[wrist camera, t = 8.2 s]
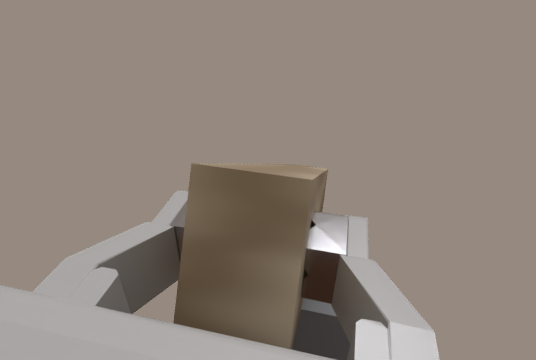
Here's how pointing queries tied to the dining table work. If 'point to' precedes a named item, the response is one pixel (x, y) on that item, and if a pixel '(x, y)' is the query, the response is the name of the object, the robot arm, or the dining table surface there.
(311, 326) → the pedestal
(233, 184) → the bar
